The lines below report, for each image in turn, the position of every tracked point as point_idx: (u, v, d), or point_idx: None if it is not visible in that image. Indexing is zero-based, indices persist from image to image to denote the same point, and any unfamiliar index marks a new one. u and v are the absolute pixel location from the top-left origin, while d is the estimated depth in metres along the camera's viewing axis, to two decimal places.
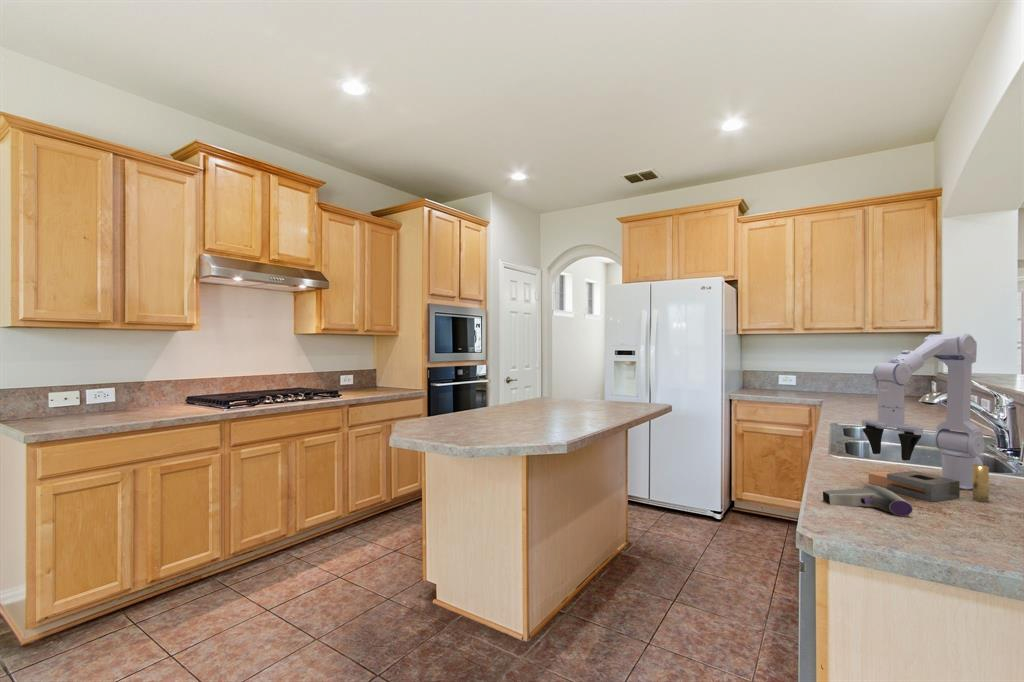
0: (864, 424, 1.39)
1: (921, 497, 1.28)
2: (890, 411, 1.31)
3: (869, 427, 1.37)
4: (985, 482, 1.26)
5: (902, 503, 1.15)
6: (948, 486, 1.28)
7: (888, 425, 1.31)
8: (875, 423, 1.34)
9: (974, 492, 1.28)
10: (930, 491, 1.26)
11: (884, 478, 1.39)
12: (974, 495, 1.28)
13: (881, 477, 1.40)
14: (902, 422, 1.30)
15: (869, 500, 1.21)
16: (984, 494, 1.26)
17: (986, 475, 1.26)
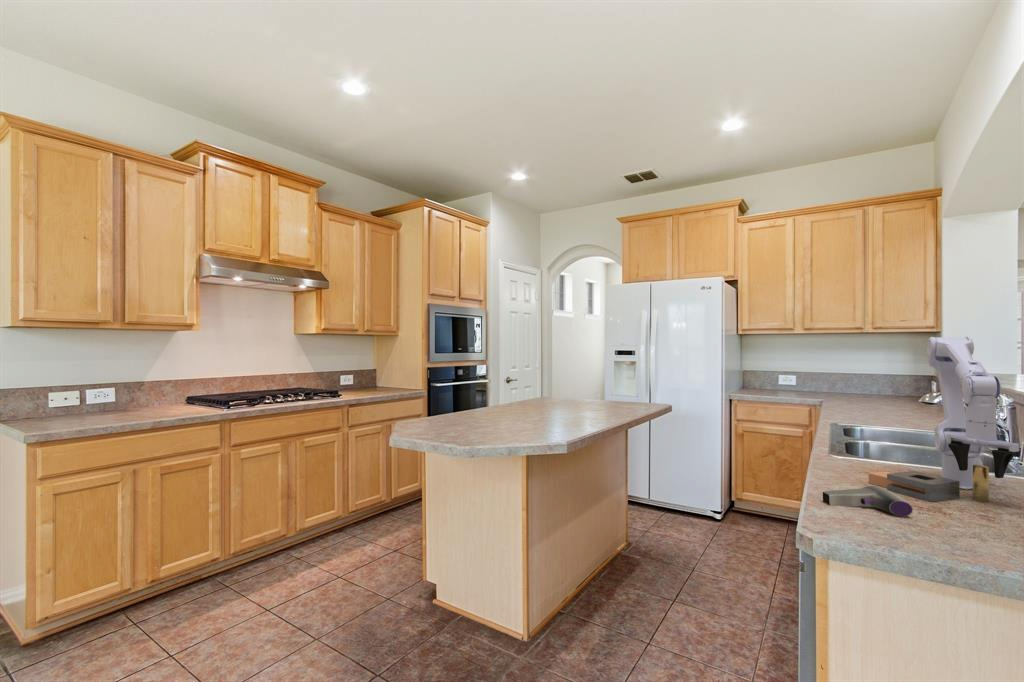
0: (949, 439, 1.33)
1: (921, 497, 1.28)
2: (981, 426, 1.25)
3: (955, 442, 1.32)
4: (985, 482, 1.26)
5: (902, 503, 1.15)
6: (948, 486, 1.28)
7: (979, 441, 1.25)
8: (963, 438, 1.29)
9: (974, 492, 1.28)
10: (930, 491, 1.26)
11: (884, 478, 1.39)
12: (974, 495, 1.28)
13: (881, 477, 1.40)
14: (994, 438, 1.25)
15: (869, 500, 1.21)
16: (984, 494, 1.26)
17: (986, 475, 1.26)
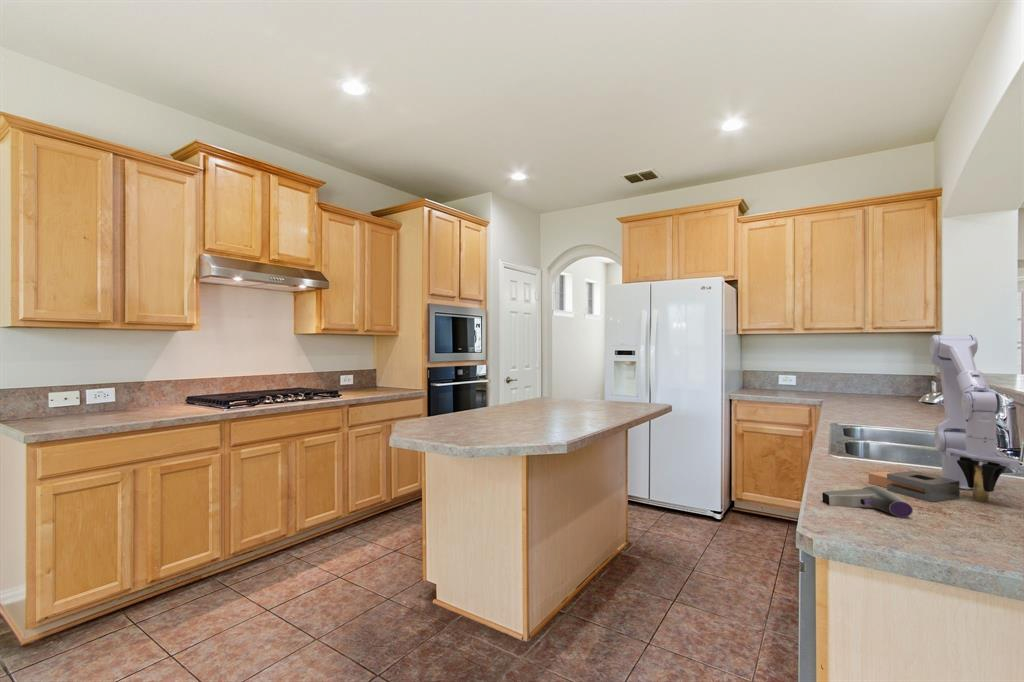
0: (949, 454, 1.33)
1: (921, 497, 1.28)
2: (981, 442, 1.25)
3: (964, 459, 1.30)
4: None
5: (902, 504, 1.15)
6: (948, 486, 1.28)
7: (979, 457, 1.25)
8: (963, 454, 1.29)
9: (974, 492, 1.28)
10: (930, 491, 1.26)
11: (884, 478, 1.39)
12: (974, 495, 1.28)
13: (881, 477, 1.40)
14: (994, 454, 1.25)
15: (869, 501, 1.20)
16: (984, 494, 1.26)
17: None
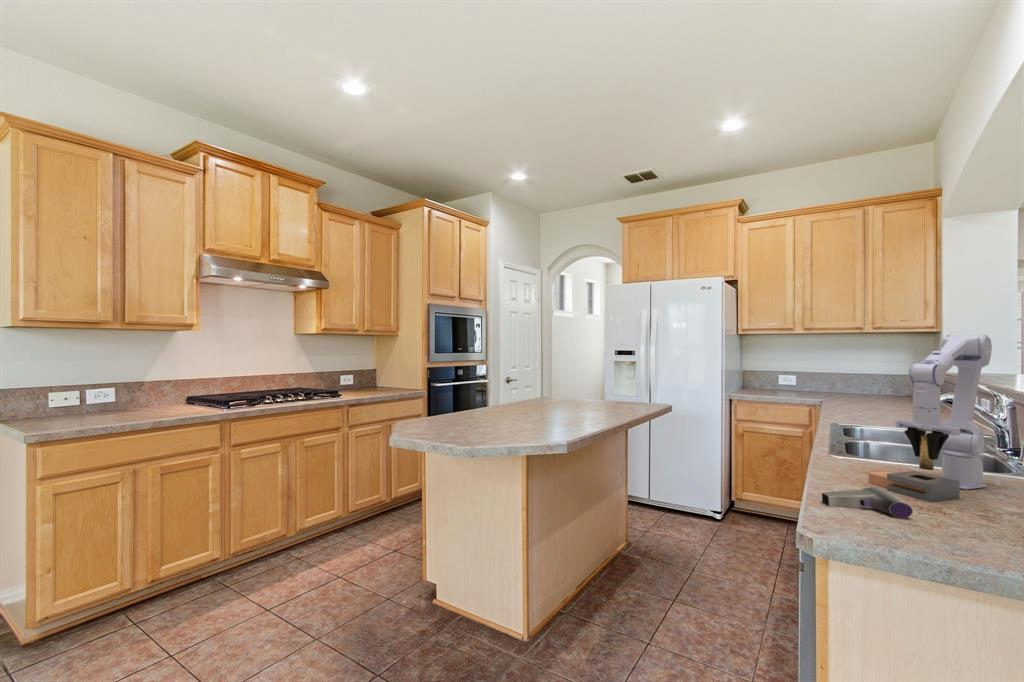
0: (898, 425, 1.38)
1: (921, 497, 1.28)
2: (926, 412, 1.30)
3: (911, 429, 1.35)
4: None
5: (902, 505, 1.14)
6: (948, 486, 1.28)
7: (924, 426, 1.30)
8: (910, 424, 1.34)
9: (920, 460, 1.33)
10: (930, 491, 1.26)
11: (884, 478, 1.39)
12: (920, 463, 1.33)
13: (881, 477, 1.40)
14: (938, 423, 1.30)
15: (869, 502, 1.20)
16: (929, 462, 1.31)
17: None
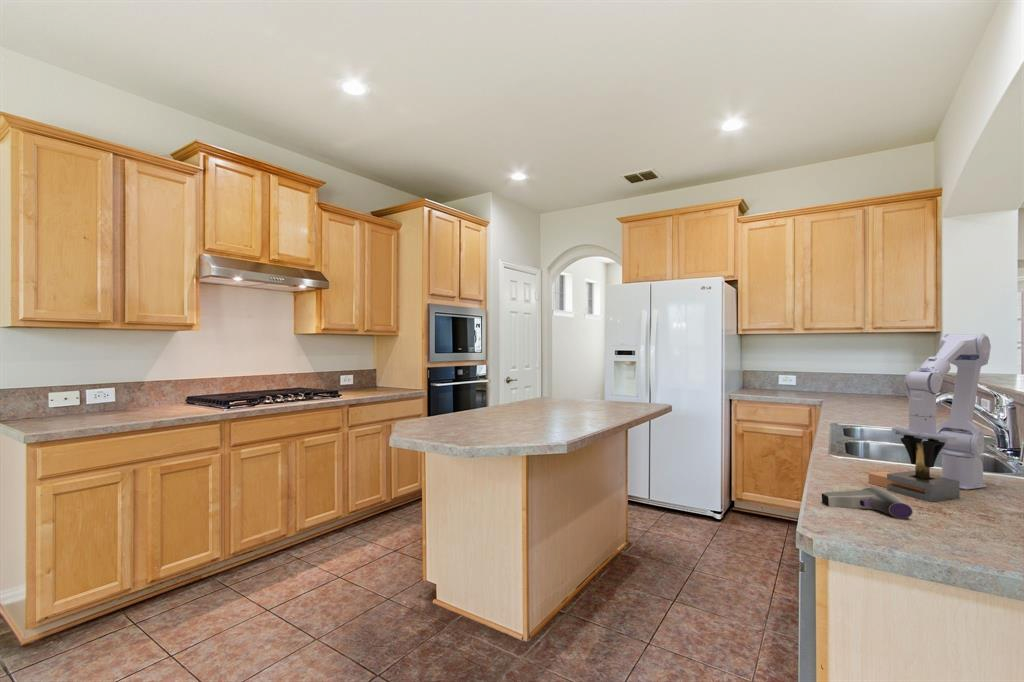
0: (894, 432, 1.39)
1: (921, 497, 1.28)
2: (922, 420, 1.31)
3: (907, 437, 1.36)
4: None
5: (902, 505, 1.14)
6: (948, 486, 1.28)
7: (920, 434, 1.31)
8: (906, 432, 1.35)
9: (916, 468, 1.33)
10: (930, 491, 1.26)
11: (884, 478, 1.39)
12: (916, 471, 1.33)
13: (881, 477, 1.40)
14: (934, 431, 1.30)
15: (868, 502, 1.20)
16: (925, 470, 1.32)
17: None
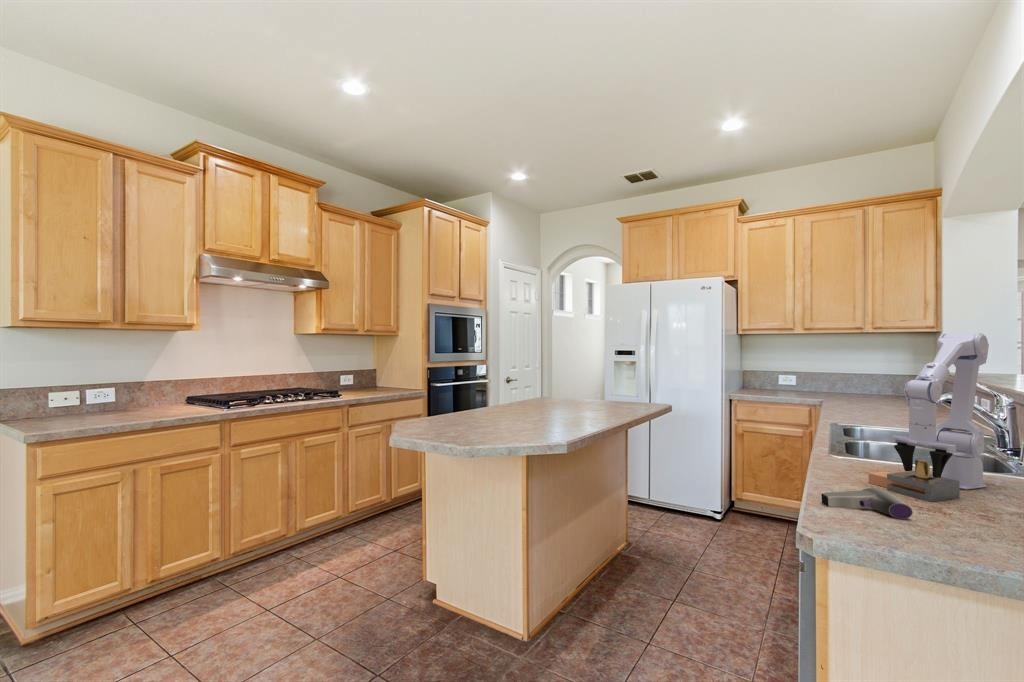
0: (894, 440, 1.39)
1: (921, 497, 1.28)
2: (922, 429, 1.31)
3: (901, 444, 1.37)
4: (925, 476, 1.31)
5: (902, 506, 1.13)
6: (948, 486, 1.28)
7: (920, 443, 1.31)
8: (906, 440, 1.35)
9: None
10: (930, 491, 1.26)
11: (884, 478, 1.39)
12: None
13: (881, 477, 1.40)
14: (934, 440, 1.30)
15: (868, 503, 1.19)
16: None
17: (927, 469, 1.31)
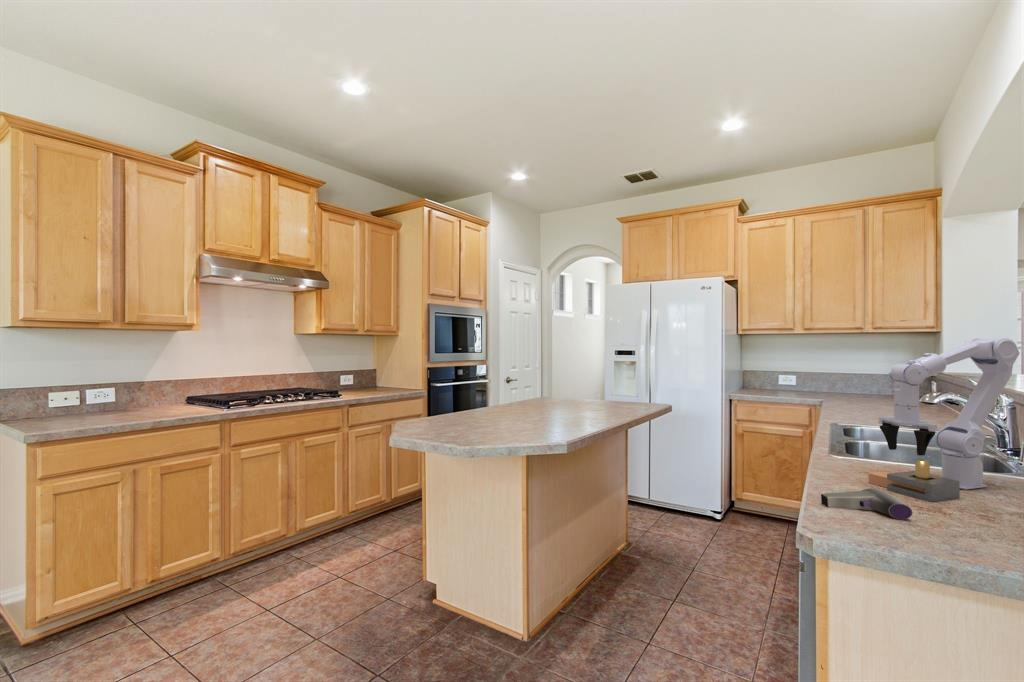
0: (881, 422, 1.48)
1: (921, 497, 1.28)
2: (906, 409, 1.40)
3: (885, 424, 1.46)
4: (925, 476, 1.31)
5: (902, 506, 1.13)
6: (948, 486, 1.28)
7: (904, 422, 1.40)
8: (891, 421, 1.43)
9: None
10: (930, 491, 1.26)
11: (884, 478, 1.39)
12: None
13: (881, 477, 1.40)
14: (917, 420, 1.39)
15: (868, 503, 1.19)
16: None
17: (927, 469, 1.31)
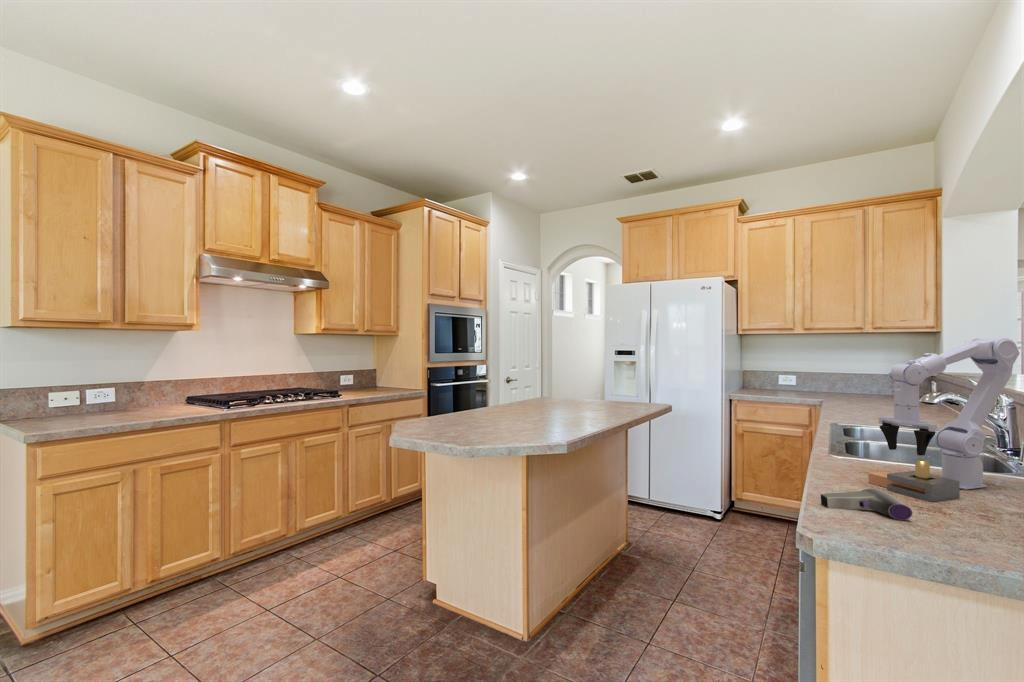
0: (881, 422, 1.48)
1: (921, 497, 1.28)
2: (906, 409, 1.40)
3: (885, 424, 1.46)
4: (925, 476, 1.31)
5: (902, 506, 1.13)
6: (948, 486, 1.28)
7: (904, 422, 1.40)
8: (891, 421, 1.43)
9: None
10: (930, 491, 1.26)
11: (884, 478, 1.39)
12: None
13: (881, 477, 1.40)
14: (917, 420, 1.39)
15: (868, 503, 1.19)
16: None
17: (926, 469, 1.31)
